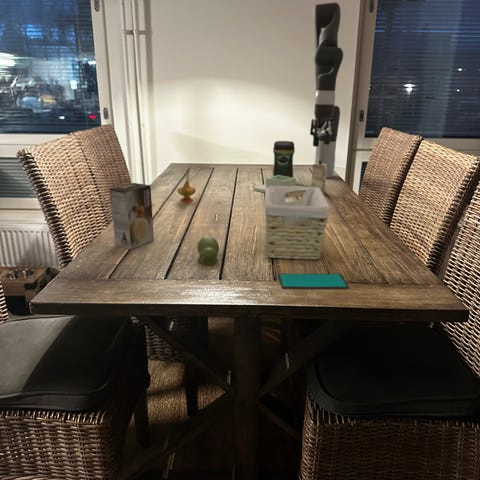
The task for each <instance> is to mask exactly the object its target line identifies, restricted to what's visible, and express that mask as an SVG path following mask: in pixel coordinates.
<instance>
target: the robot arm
mask: <svg viewBox="0 0 480 480" xmlns="http://www.w3.org/2000/svg"><path fill="white" fill-rule="evenodd" d="M312 13H313V14H312V15H313V16H312V17H313V31H314V33H313V35H314V45H315V47H314V56H313V60H314V64H315V65H314V68H315V69H314V70H315V71H314V72H315V73H314V74H315V75H314V76H315V100H314V111H313V112H314V113H313V114H314V118H313V119H311V121H310V122H311V123H310V132H309V135H310V136H312V137H313V139H312V146H313V147H315V159H314V160H315V161H314V164H316V163H319V160H322V164H327V169H326V179H331V178H333V177H334V173H335V166H336V163H335V162H336V148H337V138H338V134H339V127H340V126H339V125H340V118H341V117H340V116H341V109H340V106H338V105H335V104H336V103H335V102H336V86H337V78H338V73H339V70H340V68H341V65H342V62H343V60H344V51H343V49H342V48H341V47H339V46H338V45H339V43H338V42H339V41H338V35H339V30H340V24H341V7H340V5H339V3H338V2H327V3H319V4H315V5H314V8H313V10H312ZM322 29H323V30H322Z"/></svg>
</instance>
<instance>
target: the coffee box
mask: <svg viewBox="0 0 480 480" xmlns="http://www.w3.org/2000/svg"><path fill="white" fill-rule="evenodd" d="M151 186H152V185H150V184H143V183H137V182H132V183H128V184H123V185H120V186H116V187H115V186H114V187H111V188H109V191H110V192H109V193H110V201H111V202H110V203H111V214H112V223H113V224H112V225H113V226H112V227H113V235H114V245H115V246H117V247H120V248H124V249H129V250H133V249H135V248H138V247H140V246H143V245H146V244H147V243H151V242H153V241H154V240H155V238H154V237H155V236H154V220H153V219H154V218H153V205H152V204H153V203H152V190H151V189H152V187H151Z"/></svg>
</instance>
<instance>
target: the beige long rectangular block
mask: <svg viewBox="0 0 480 480" xmlns="http://www.w3.org/2000/svg"><path fill="white" fill-rule="evenodd" d="M326 169H327V164H322V160H319V163H316V164H315V163H314V164H312V176H311V187H318V188H319V189H320V190H321V192H322V193H323V194H325V189H326V179H327V178H326Z"/></svg>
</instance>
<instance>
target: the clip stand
mask: <svg viewBox="0 0 480 480" xmlns="http://www.w3.org/2000/svg"><path fill="white" fill-rule="evenodd" d="M296 183H297V178H296V177H293V178H292V177H287V176H281V175H277V176H273V177H272V176H269V177H266V178H265V184H262V185H257V186H254V187H253V191H255V192H260V193H264V194H265V192H266V188H267V187H269V186H296V187H302V186H301V185H296ZM286 197H287V196H285V198H286Z"/></svg>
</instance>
